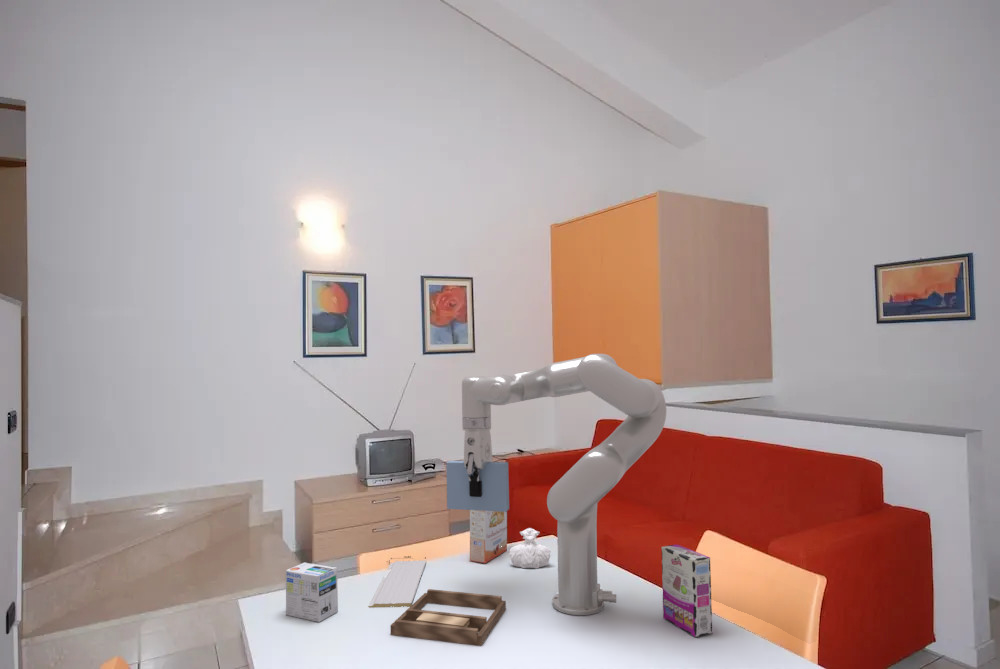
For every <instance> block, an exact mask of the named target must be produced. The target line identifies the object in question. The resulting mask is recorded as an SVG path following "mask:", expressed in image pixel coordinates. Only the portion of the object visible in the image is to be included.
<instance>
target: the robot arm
mask: <svg viewBox="0 0 1000 669" xmlns="http://www.w3.org/2000/svg"><path fill="white" fill-rule="evenodd" d="M586 392H591V393H592V394H593V395H594V396H596V397H598V398H599V399H601V400H603V401H604V402H606V403H607V404H609V405H611V406H612V407H614V408H615V409H617V410H618V411H620V412H621V413H623V414H625V415H627V417H626V418H625V419H624V420H623V421H622V422H621V423H620V424H619V425H618V426H617V427H616V428H615V430H613V431H612V433H611V434H610V435H609V436H608V437H606V438H605V439H604V440H603V441H602V442H601V443H600V444H598V445H596V446H595V447H593V448H592V449H590V450H588V452H586V453H585V454H584V455H582V457H580V459H579V460H578V461H577V462H576V463H574V464H573V465H572V467H570V469H569V470H567V471H566V472H565V473H564V474H563V476H561V477H560V479H558V480H557V481H556V482H555V483H554V484H553V485H552V487H550V489H549V491H548V493H547V497H546V505H547V510H548V512H549V514H550V515H551V516H552V517H553V518H554V520H557V530H556V532H557V533H556V534H557V535H556V536H557V537H556V538H557V539H556V541H557V542H556V543H557V580H558V581H557V583H558V585H557V587H558V591H557V592H558V593H557V594H555V595H554V596H553V597H552V603H551V604H552V606H553V608H554V609H556V610H557V611H559V612H561V613H564V614H567V615H572V616H573V615H574V616H589V615H594V614H597V613H599V612H601V611H602V610H603V609H604V608H605V603H606V602H607V603H612V604H615V603H617V594H616V593H615V594H614V593H613V591H612V590H603V588H602V589H601V583H599V582H598V551H597V550H598V549H597V548H598V546H597V545H598V543H597V539H598V538H597V537H598V534H597V533H598V532H597V528H598V527H597V524H598V523H597V518H598V516H597V515H598V503H599V502H600V501H601V500H602V499H603V498H604V497H605V496H606V495H608V494H609V492H610V491H611V490H612V489H613V488H615V486H616V485H617V484H618V483H619V482H620V480H621V479H622V478H623V476H624V475H625V474H626V472H627V471H628V470H629V469H630V468H631V467H632V466H633V465H634V464H635V463H636V462H637V461H638V460H639V459H640V458H641V457H642V456H643V455H644V454H645V452H646V451H647V450H648V449H650V447H652V445H653V444H654V443H655V442H656V440H657V439H658V438H659V437H660V435H661V433H662V431H663V429H664V426H665V424H666V423H665V422H666V419H667V404H666V400H665V395H664V394H663V391H662V389H661V388H660V386H659V385H658V384H657V383H656V382H654V381H653V380H650V379H648V378H638V377H637V376H635V375H634V374H632V373H630V372H628V371H627V370H625V369H623V368H621V366H618V363H617V362H616V360H615V359H614V358H613V357H612V356H611V355H609V354H606V353H591V354H588V355H586V356H583V357H578V358H577V357H576V358H573V359H572V358H571V359H567V360H562V361H556V362H552V363H549V364H547V365H545V366H543V367H541V368H538V369H534V370H530V371H525V372H520V373H514V374H505V375H504V374H503V375H496V376H491V377H490V376H489V377H488V376H467V377H464V378H463V379H462V380H461V413H462V414H461V420H462V422H461V423H462V427H461V428H462V431H464V438H463V440H464V442H463V444H464V446H463V461H464V466H465V468H466V469H467V474H468V475H469V495H470V496H471V497H481V496H482V481H480V470H483V469H485V468H486V463H488V462H493V446H492V437H491V436H492V435H491V429H492V406H506V405H509V404H514V403H520V402H524V401H530V400H535V399H536V400H537V399H540V398H548V397H549V398H560V397H565V396H570V395H575V394H580V393H586ZM474 467H477V468H478V469H476V468H474ZM474 471H477V473H476V472H474Z"/></svg>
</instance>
